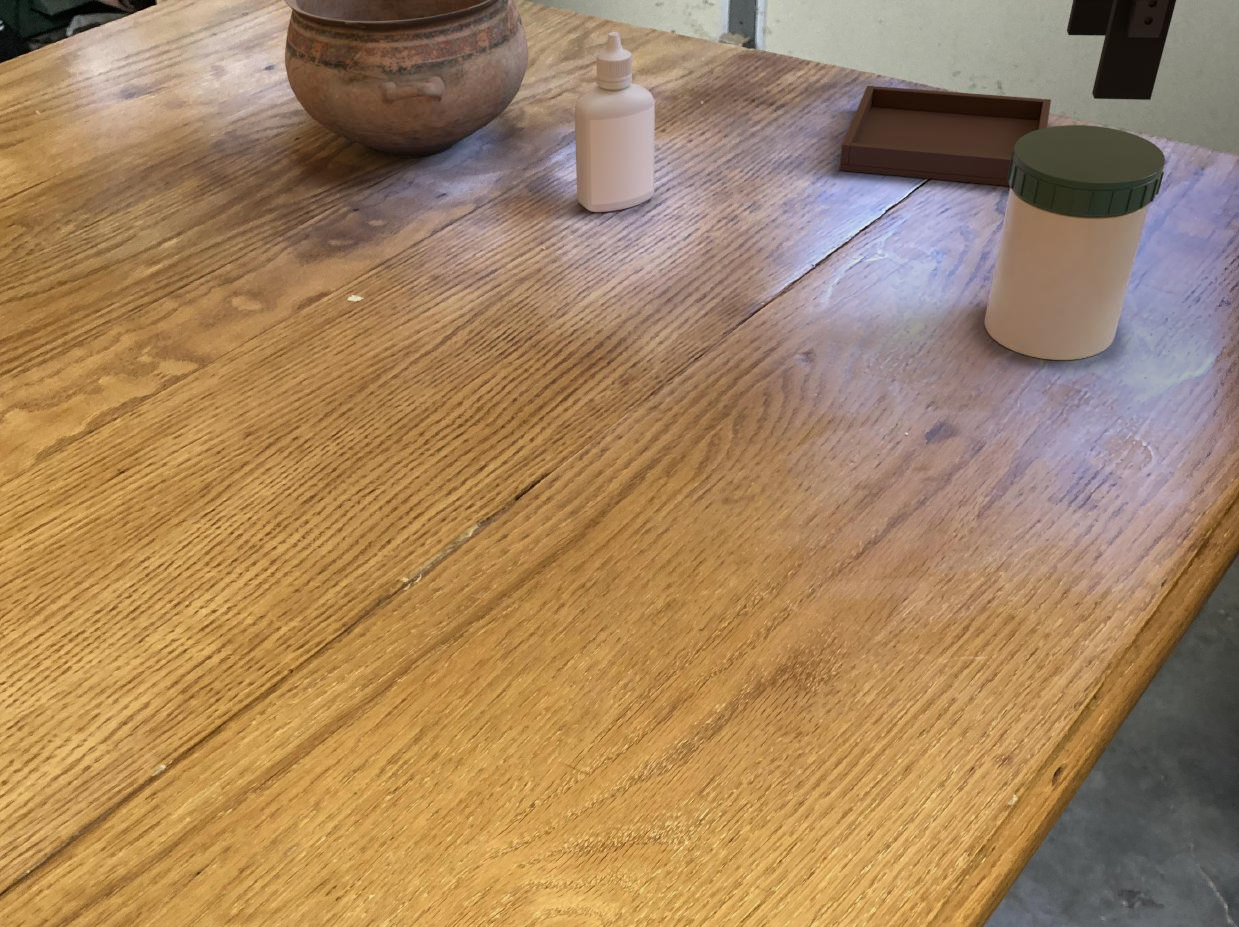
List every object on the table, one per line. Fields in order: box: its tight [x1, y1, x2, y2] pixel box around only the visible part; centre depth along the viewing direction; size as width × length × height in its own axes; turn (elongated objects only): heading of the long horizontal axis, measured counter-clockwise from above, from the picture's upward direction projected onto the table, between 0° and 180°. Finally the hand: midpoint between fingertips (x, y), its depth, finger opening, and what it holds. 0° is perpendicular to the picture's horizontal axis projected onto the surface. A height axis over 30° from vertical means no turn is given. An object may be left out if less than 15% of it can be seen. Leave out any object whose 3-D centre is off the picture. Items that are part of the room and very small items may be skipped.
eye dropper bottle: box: [574, 31, 656, 213], centre depth 93 cm, size 4×6×12 cm
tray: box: [839, 85, 1052, 187], centre depth 101 cm, size 14×12×2 cm
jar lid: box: [1007, 124, 1166, 216], centre depth 74 cm, size 8×8×2 cm
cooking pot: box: [283, 0, 529, 158], centre depth 103 cm, size 25×19×12 cm
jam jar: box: [984, 187, 1151, 361], centre depth 77 cm, size 8×8×11 cm
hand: (1106, 63), depth 70 cm, fingers open, 9 cm apart
